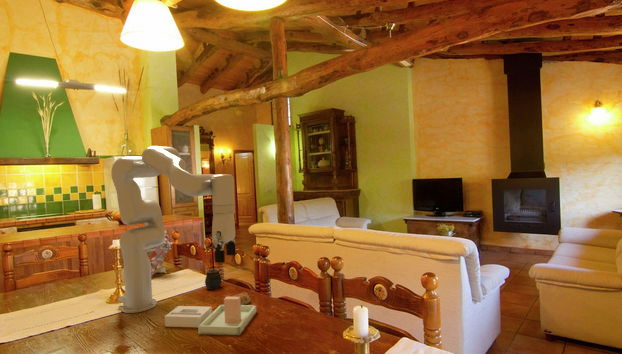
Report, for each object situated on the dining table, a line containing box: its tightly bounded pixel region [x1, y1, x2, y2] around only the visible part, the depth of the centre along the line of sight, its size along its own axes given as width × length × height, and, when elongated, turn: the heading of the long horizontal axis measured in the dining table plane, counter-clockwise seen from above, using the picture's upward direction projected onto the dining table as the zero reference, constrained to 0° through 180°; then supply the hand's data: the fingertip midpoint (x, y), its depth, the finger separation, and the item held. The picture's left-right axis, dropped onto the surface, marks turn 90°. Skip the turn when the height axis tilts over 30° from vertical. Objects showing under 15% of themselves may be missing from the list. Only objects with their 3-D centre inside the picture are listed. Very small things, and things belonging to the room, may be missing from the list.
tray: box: [197, 304, 257, 336], centre depth 120 cm, size 14×18×2 cm
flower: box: [145, 228, 174, 277], centre depth 180 cm, size 20×22×25 cm
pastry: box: [232, 291, 251, 305], centre depth 137 cm, size 9×7×4 cm
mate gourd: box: [204, 268, 222, 290], centre depth 157 cm, size 7×8×10 cm
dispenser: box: [164, 305, 213, 328], centre depth 123 cm, size 13×9×4 cm
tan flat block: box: [223, 295, 241, 322], centre depth 120 cm, size 5×2×8 cm, turn 82°
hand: (225, 258), depth 121 cm, fingers open, 9 cm apart
